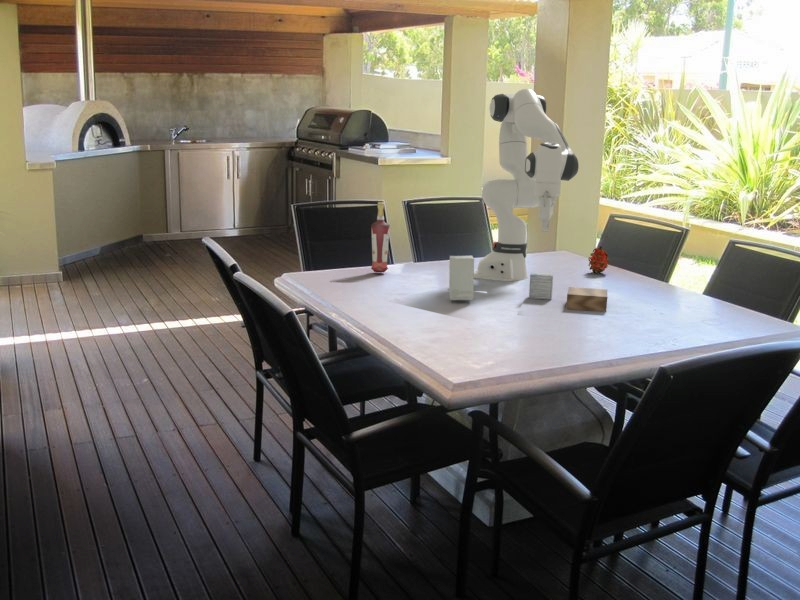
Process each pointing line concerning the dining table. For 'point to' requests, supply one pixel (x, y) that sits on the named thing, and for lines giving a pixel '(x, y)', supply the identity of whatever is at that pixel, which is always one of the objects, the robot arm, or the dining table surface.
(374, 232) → the liquor
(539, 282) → the grey streaked block
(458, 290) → the skincare box
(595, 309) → the walnut block
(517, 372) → the dining table surface
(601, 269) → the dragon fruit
